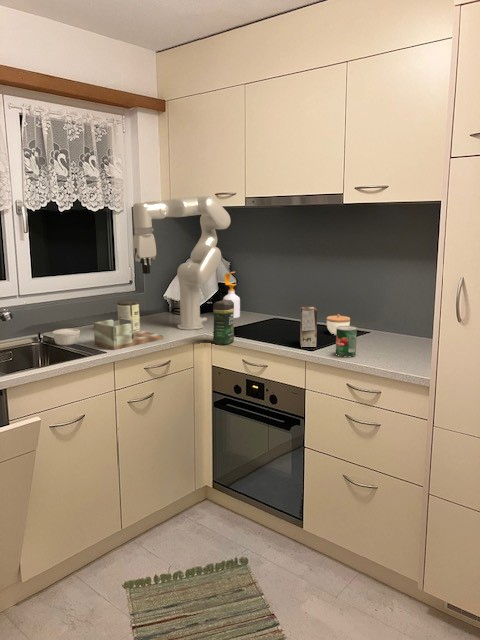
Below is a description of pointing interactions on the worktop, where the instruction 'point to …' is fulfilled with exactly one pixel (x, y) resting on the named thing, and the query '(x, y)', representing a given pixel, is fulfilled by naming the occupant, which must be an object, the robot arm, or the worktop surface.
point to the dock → (120, 335)
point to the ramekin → (66, 336)
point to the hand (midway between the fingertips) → (146, 273)
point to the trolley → (127, 321)
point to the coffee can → (129, 312)
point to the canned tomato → (346, 340)
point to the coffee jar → (223, 322)
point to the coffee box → (308, 326)
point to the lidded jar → (337, 322)
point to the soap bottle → (232, 296)
